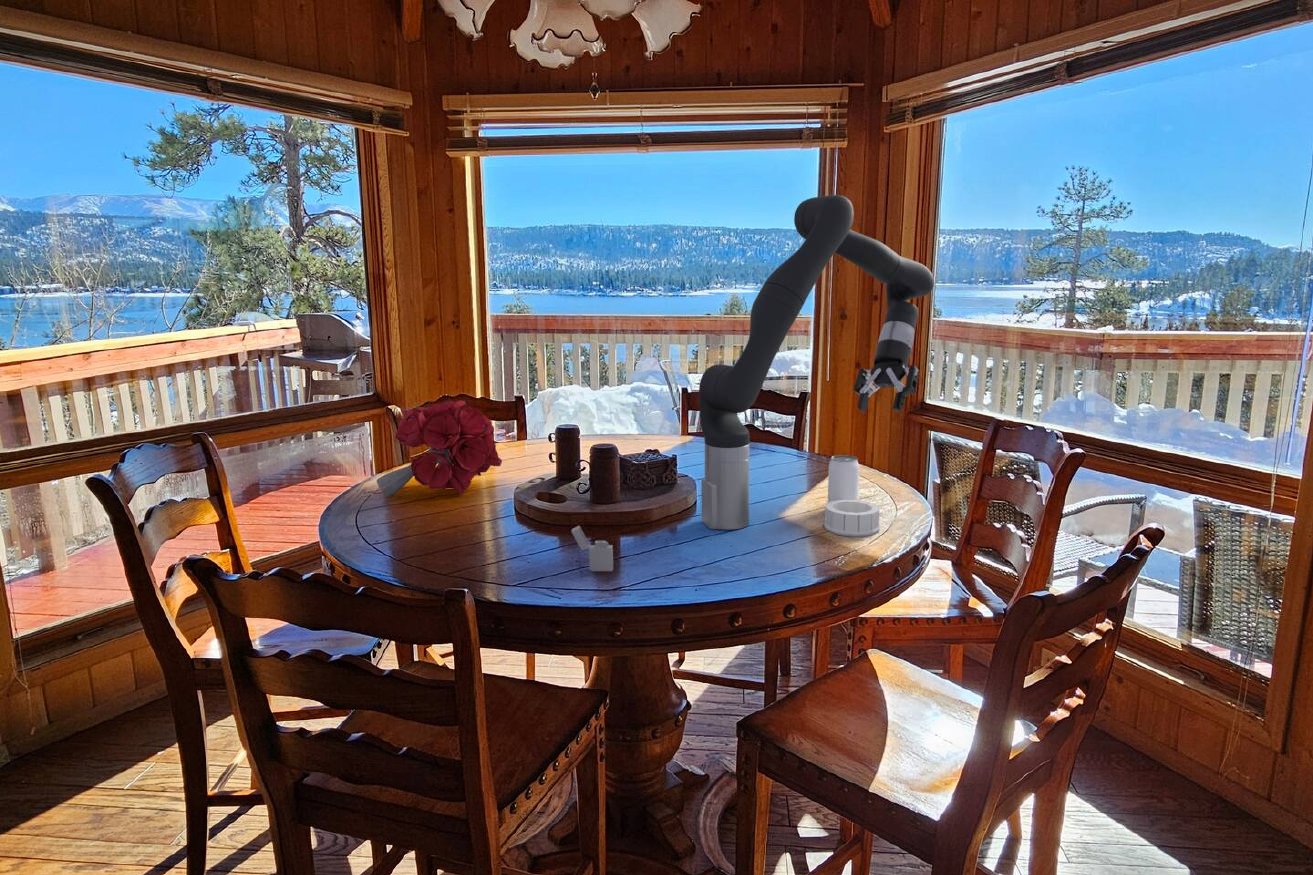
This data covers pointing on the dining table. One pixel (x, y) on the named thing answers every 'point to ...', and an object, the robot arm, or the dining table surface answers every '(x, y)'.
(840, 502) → the holder
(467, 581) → the dining table surface
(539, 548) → the dining table surface
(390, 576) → the dining table surface
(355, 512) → the dining table surface
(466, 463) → the bouquet
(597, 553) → the lighter
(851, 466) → the can
